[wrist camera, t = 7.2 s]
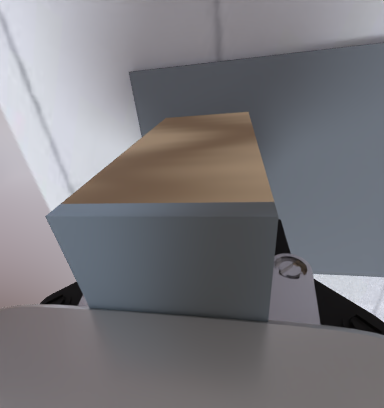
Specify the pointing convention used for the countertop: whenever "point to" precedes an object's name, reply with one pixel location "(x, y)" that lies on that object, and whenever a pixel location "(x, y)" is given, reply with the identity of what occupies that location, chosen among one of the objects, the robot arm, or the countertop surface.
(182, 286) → the oak slab
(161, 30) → the countertop surface
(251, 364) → the robot arm
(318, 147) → the mat
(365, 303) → the countertop surface
